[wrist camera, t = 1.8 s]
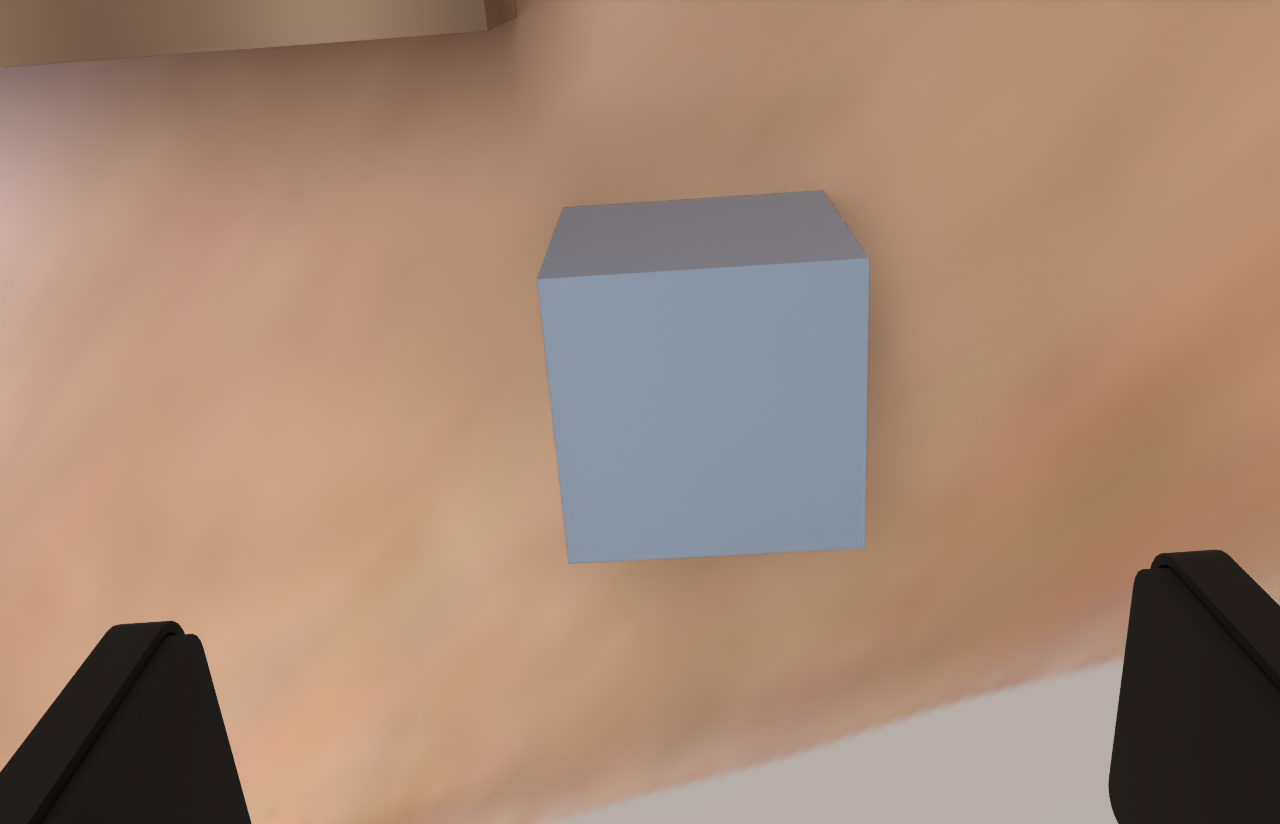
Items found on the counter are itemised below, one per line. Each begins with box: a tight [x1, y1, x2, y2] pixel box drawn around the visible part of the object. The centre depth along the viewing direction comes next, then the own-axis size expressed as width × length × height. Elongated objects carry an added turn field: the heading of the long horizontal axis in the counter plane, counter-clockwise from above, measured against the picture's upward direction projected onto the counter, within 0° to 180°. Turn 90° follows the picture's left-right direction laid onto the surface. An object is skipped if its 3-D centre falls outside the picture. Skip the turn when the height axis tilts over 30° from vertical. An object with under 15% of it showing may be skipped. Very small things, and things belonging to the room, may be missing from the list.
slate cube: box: [537, 190, 869, 564], centre depth 20 cm, size 5×5×5 cm
